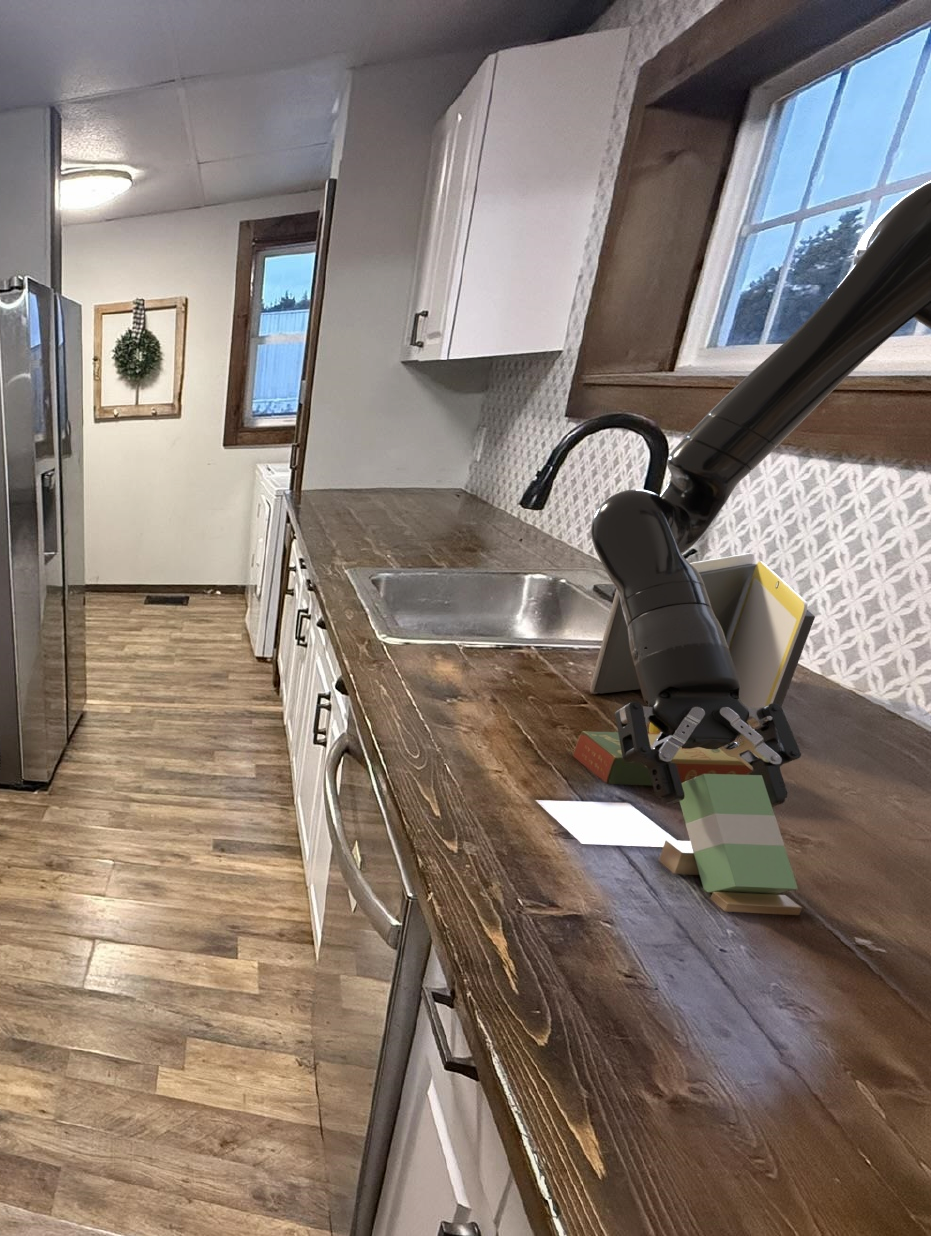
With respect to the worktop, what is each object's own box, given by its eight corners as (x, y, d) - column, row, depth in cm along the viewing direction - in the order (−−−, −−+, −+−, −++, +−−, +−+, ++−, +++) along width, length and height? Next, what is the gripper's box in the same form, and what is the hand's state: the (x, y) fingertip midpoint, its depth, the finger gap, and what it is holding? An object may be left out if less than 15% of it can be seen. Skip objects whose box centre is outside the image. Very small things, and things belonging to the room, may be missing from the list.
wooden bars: (657, 863, 80) (665, 839, 79) (734, 866, 79) (743, 842, 78) (717, 914, 72) (727, 888, 71) (804, 918, 71) (815, 892, 70)
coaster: (627, 805, 91) (628, 802, 91) (686, 851, 82) (687, 848, 81) (534, 802, 92) (534, 799, 92) (581, 847, 83) (582, 844, 83)
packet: (652, 850, 82) (683, 761, 78) (706, 852, 81) (740, 762, 77) (725, 911, 72) (764, 813, 68) (787, 914, 72) (831, 815, 68)
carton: (758, 793, 92) (771, 761, 90) (604, 786, 95) (614, 755, 94) (712, 762, 99) (723, 732, 98) (571, 757, 103) (579, 728, 101)
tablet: (794, 747, 103) (852, 603, 95) (590, 718, 114) (628, 588, 107) (738, 670, 129) (779, 553, 122) (577, 653, 141) (606, 545, 133)
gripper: (627, 640, 80) (667, 789, 74) (786, 640, 77) (841, 795, 71) (584, 671, 87) (618, 811, 81) (729, 673, 84) (775, 816, 78)
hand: (723, 803), depth 76 cm, fingers open, 8 cm apart
